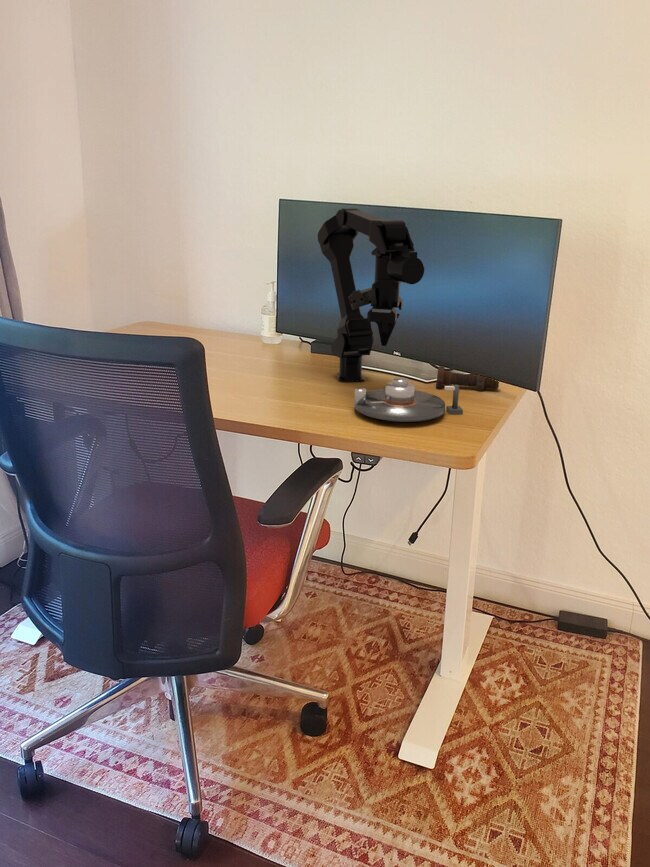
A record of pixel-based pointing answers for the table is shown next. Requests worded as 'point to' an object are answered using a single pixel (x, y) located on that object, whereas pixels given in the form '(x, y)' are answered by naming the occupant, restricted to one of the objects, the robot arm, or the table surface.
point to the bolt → (464, 380)
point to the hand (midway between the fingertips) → (384, 345)
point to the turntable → (376, 406)
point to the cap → (400, 392)
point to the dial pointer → (454, 400)
